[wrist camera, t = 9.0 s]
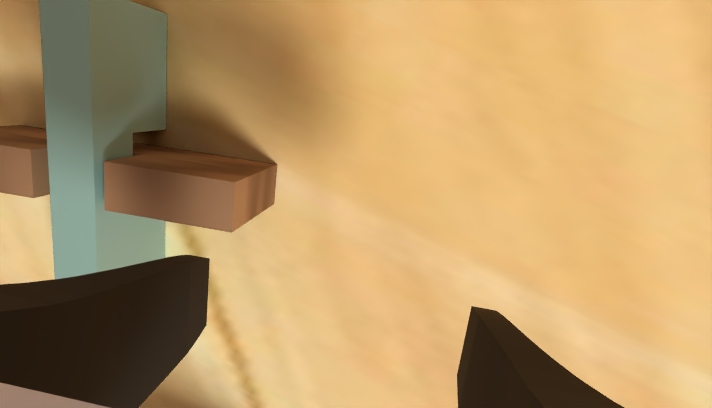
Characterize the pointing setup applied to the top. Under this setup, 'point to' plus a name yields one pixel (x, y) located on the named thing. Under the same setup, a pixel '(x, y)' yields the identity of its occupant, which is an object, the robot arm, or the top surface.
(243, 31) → the top surface
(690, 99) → the top surface
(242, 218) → the stand plate
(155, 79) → the cross plate
